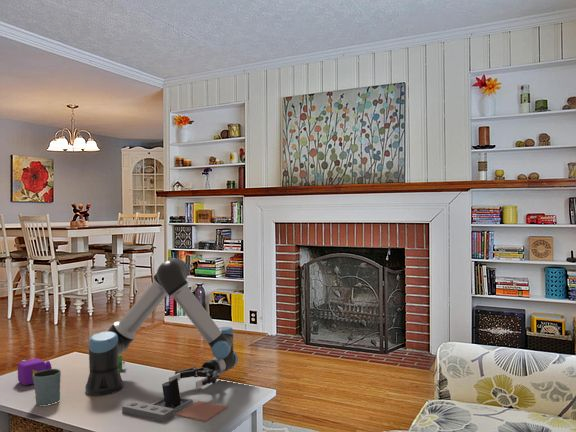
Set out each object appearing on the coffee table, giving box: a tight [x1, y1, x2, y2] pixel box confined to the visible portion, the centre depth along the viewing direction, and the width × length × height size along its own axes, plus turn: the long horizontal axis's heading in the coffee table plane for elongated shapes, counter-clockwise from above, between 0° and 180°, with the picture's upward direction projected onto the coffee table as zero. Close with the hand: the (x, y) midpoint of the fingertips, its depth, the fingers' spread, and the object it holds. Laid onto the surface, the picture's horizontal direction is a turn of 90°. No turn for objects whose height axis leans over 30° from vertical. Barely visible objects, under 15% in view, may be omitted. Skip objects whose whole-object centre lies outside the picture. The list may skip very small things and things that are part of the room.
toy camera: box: [17, 358, 53, 386], centre depth 223 cm, size 11×14×10 cm
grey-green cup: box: [33, 368, 62, 405], centre depth 197 cm, size 10×10×12 cm
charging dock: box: [121, 396, 194, 423], centre depth 189 cm, size 20×20×3 cm
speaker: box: [161, 378, 182, 409], centre depth 192 cm, size 8×6×10 cm
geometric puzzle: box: [118, 355, 126, 371], centre depth 237 cm, size 7×7×8 cm
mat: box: [174, 400, 229, 422], centre depth 185 cm, size 14×14×1 cm
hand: (182, 383), depth 197 cm, fingers open, 13 cm apart
